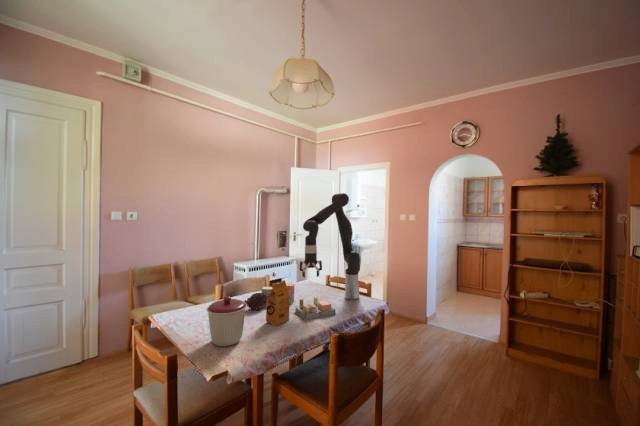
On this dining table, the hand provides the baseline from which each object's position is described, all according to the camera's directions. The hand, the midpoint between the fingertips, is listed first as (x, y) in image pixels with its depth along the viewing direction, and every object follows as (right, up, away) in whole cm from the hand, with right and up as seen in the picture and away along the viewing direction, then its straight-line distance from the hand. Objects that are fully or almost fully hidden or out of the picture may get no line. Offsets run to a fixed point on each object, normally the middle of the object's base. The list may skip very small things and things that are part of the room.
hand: (310, 277), depth 177 cm
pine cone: (-33, -19, -4) cm, 39 cm away
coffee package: (-18, -20, -23) cm, 35 cm away
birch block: (-3, -19, -10) cm, 22 cm away
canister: (-38, -19, -47) cm, 63 cm away
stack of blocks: (-23, -19, +10) cm, 31 cm away
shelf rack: (+3, -19, -10) cm, 22 cm away
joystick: (+6, -19, -5) cm, 21 cm away
